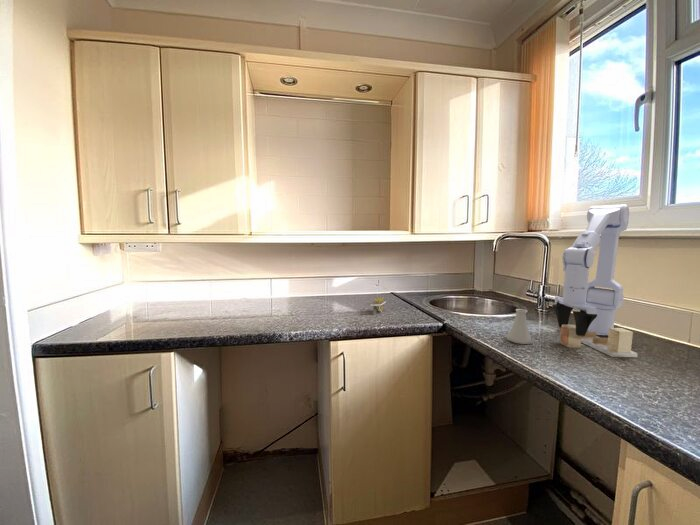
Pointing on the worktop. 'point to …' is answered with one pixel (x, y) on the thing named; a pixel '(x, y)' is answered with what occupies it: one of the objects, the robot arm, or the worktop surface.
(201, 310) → the worktop surface
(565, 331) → the block
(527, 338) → the flask
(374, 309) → the green irregular piece
